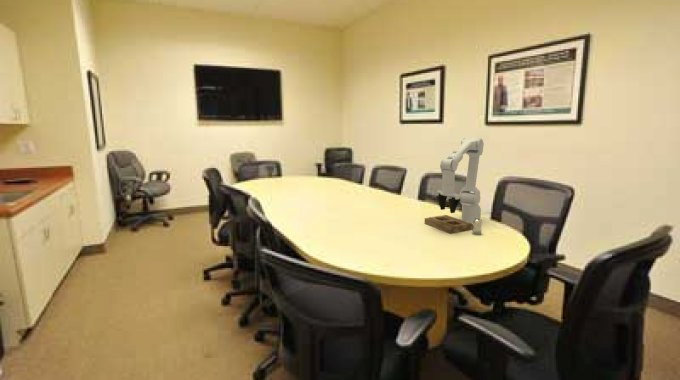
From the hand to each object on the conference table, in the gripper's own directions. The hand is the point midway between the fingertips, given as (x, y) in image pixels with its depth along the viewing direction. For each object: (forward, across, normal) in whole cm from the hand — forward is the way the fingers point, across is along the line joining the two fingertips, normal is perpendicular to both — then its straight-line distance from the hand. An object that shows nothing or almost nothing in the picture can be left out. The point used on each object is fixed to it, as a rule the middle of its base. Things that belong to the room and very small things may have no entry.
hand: (447, 211), depth 184 cm
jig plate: (+10, -5, +4) cm, 12 cm away
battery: (+10, +11, +8) cm, 17 cm away
